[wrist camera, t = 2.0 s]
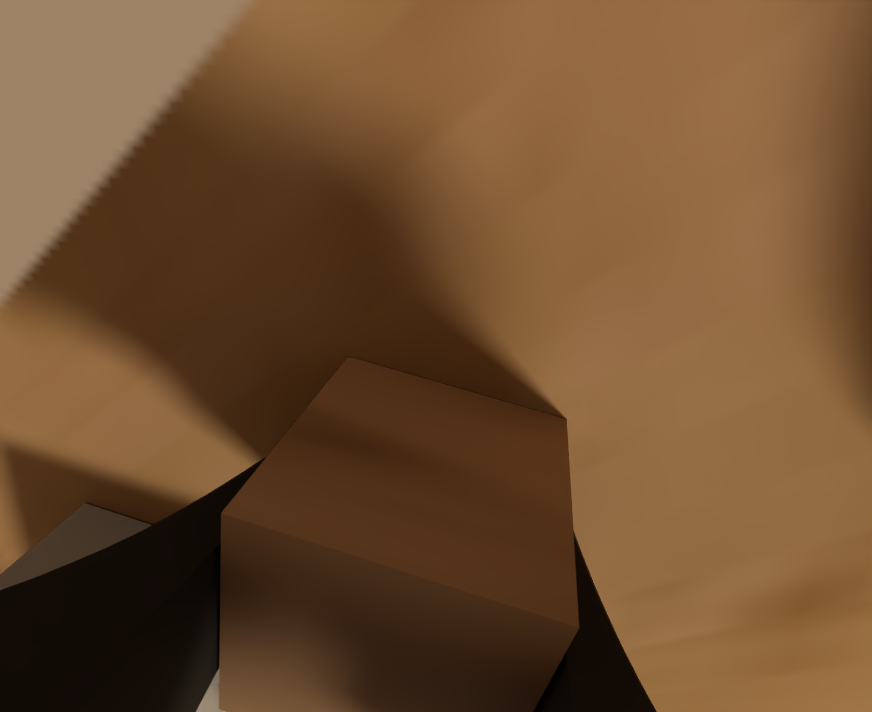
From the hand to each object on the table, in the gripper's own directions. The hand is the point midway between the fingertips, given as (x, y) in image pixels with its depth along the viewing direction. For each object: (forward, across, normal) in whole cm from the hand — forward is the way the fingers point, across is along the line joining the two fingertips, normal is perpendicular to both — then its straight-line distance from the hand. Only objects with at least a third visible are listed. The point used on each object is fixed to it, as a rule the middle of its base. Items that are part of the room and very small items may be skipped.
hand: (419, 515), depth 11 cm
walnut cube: (+2, 0, 0) cm, 2 cm away
